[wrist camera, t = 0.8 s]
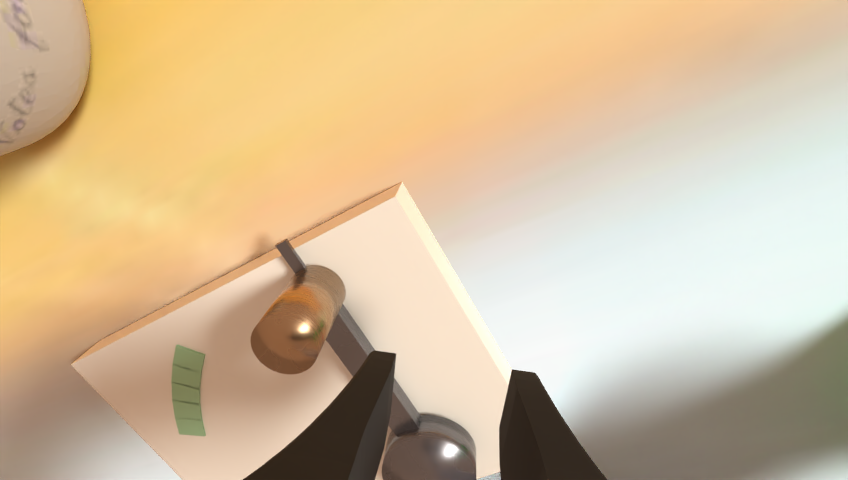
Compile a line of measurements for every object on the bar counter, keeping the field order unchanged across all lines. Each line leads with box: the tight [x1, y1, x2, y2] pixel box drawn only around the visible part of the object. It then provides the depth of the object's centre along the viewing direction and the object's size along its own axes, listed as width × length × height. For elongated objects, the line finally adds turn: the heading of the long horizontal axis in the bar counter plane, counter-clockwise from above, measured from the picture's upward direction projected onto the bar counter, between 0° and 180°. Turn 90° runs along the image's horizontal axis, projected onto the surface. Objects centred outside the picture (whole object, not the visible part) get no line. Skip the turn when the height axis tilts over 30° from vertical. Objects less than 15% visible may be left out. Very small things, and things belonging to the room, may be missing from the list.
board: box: [71, 182, 512, 480], centre depth 24 cm, size 15×19×2 cm
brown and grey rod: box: [250, 239, 476, 480], centre depth 20 cm, size 15×4×4 cm, turn 29°
